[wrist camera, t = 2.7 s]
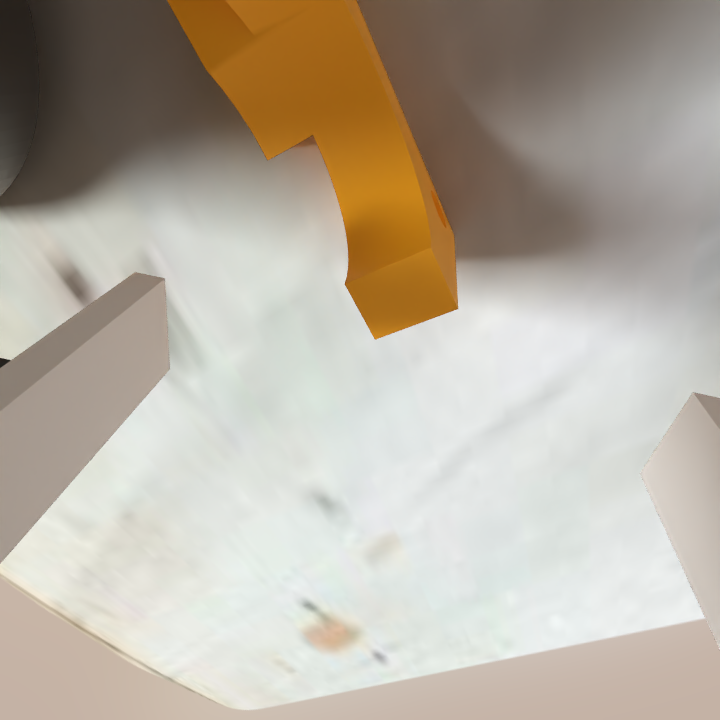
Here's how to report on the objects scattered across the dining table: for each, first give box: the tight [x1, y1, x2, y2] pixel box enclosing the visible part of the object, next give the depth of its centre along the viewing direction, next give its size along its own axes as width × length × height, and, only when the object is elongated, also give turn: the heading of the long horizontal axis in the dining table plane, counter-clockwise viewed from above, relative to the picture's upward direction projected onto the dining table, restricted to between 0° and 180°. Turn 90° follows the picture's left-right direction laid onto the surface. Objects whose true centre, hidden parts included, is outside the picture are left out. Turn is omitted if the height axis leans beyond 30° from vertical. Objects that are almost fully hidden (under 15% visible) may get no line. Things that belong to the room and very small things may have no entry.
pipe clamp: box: [167, 0, 458, 339], centre depth 15 cm, size 12×4×6 cm, turn 27°
